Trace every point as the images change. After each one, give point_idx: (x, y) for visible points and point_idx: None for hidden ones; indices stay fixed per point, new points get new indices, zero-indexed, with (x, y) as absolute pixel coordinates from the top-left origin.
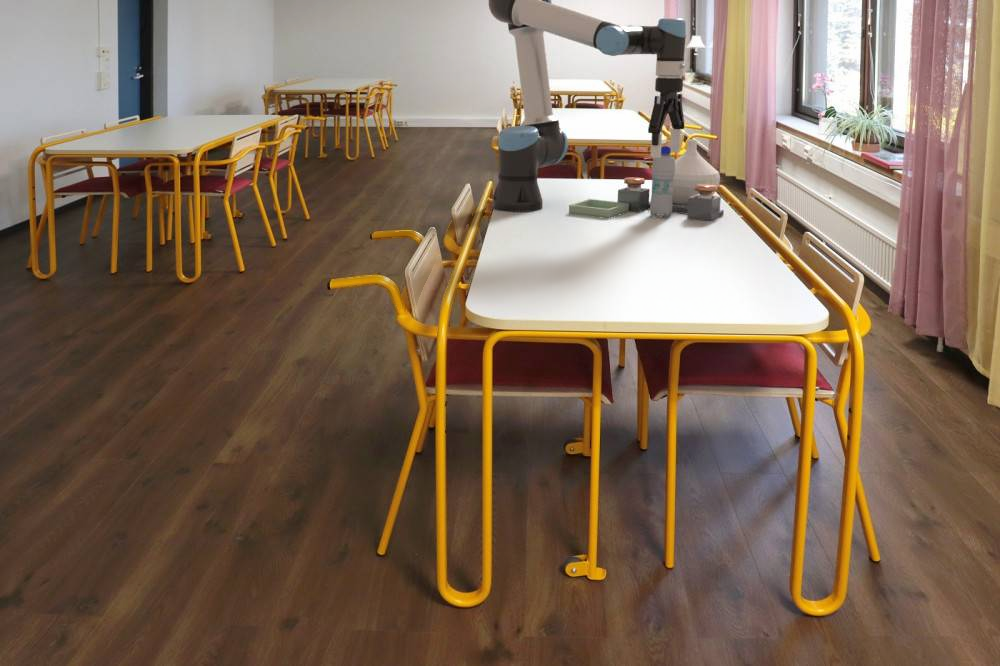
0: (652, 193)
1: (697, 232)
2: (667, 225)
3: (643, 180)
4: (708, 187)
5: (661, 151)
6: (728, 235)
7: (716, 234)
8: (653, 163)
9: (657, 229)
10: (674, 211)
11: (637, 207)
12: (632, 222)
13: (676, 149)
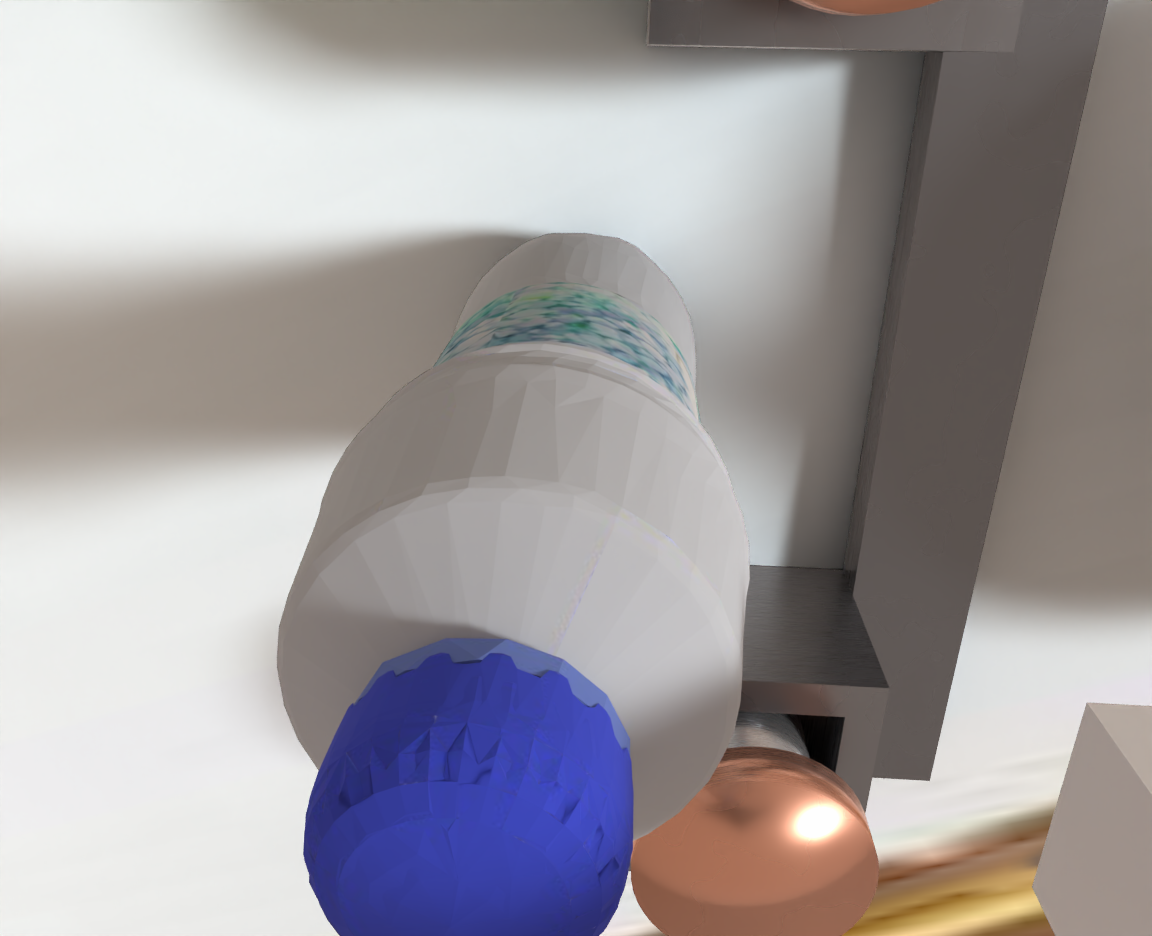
0: (467, 320)
1: (160, 761)
2: (232, 521)
3: (855, 12)
4: (665, 917)
5: (312, 791)
6: (219, 919)
7: (193, 863)
8: (355, 475)
9: (32, 509)
10: (877, 368)
11: (647, 22)
12: (125, 213)
13: (1075, 908)
